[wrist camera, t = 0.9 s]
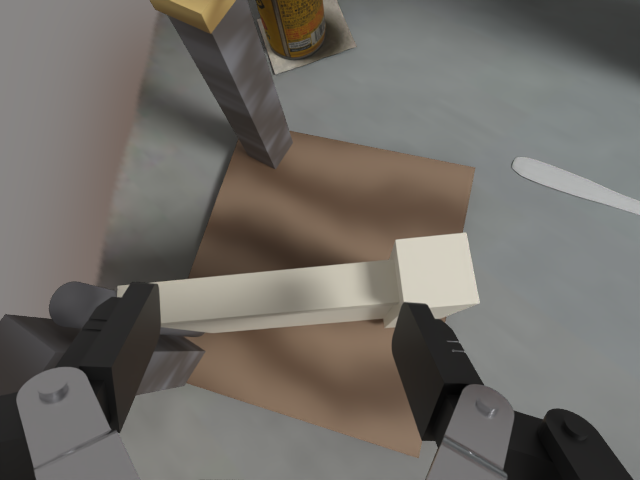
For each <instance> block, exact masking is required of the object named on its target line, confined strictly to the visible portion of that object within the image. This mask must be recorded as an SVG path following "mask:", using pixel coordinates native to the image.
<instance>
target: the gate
mask: <svg viewBox="0 0 640 480" xmlns="http://www.w3.org/2000/svg"><path fill="white" fill-rule="evenodd" d="M152 283H155V284H158V286H159V294H160V314H161V329H160V335H173V336H186V337H200V336H202V335H203V334H205V333H206V332H207V333H221V332H233V331H244V330H256V329H268V328H279V327H291V326H303V325H314V324H326V323H338V322H349V321H361V320H373V319H383V320H384V328H393V327H395V326H396V323H397V319H398V316H399V312H400V309H401V306H402V304H403V303H404V302H412V303H426V304H427V305H428V306H429V308H430V310H431V312H432V314H433V316H434V318H435V319H441V318H443V317H446V316H449V315H451V314H454V313H456V312H459V311H461V310H464V309H466V308H469V307H471V306H474V305H476V304H479V303H480V302H479V297H478V291H477V286H476V281H475V276H474V270H473V265H472V260H471V254H470V249H469V244H468V239H467V233H457V234H447V235H437V236H427V237H417V238H407V239H397V240H395V243H394V246H393V249H392V252H391V255H390V258H389V260H380V261H370V262H360V263H349V264H339V265H329V266H318V267H308V268H297V269H287V270H277V271H266V272H256V273H246V274H235V275H225V276H215V277H204V278H194V279H183V280H173V281H163V282H152ZM128 286H129V285H121V286H118V289H117V291H114V290H110V289H106V288H102V287H97V286H93V285H89V284H85V283H81V282H69V283H66V284H64V285H62V286H61V287H59V288H58V289H57V290H56V292H55V293H54V294H53V296H52V298H51V301H50V305H49V312H50V316H51V318H52V320H53V321H54V322H55V323H56V324H57V325H59V326H62V327H72V328H83V326H84V325H85V323H86V322H87V321H88V320H89V317H90V316H91V315H92V313H93V312H94V310H95V309H96V307H97V306H99V305H100V304H102V303H103V302H105V301H106V300H107V299H109V298H110V297H122V296H123V294H124V293H125V291H126V290H127V288H128Z"/></svg>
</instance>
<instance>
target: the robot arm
mask: <svg viewBox="0 0 640 480" xmlns="http://www.w3.org/2000/svg"><path fill="white" fill-rule="evenodd" d="M160 329H161V314H160V294H159V286H158V284H155V283H141V282H132V283H130V285H129V286H128V288H127V290H126V291H125V293H124V294H123V296H122V297H110V298H109V299H107V300H106V301H105V302H103V303H102V304H100V305H99V306H97V307H96V309H95V310H94V312H93V313H92V315H91V316H90V317H89V320H88V321H87V322H86V323H85V325H84V326H83V328H82V331H80V332H79V333H78V335H77V336H76V338H75V339H74V340H73V342H72V343H71V345H70V346H69V348H68V349H67V351H66V352H65V353H64V355H63V356H62V358H61V359H60V361H59V362H58V363H57V365H56V366H55V368H53V369H50V370H46V371H44V372H42V373H39V374H38V375H36V376H34V377H33V378H31V379H30V380H28V381H27V382H26V383H25V384H24V385H23V386H22V387H21V389H20V390H19V391H18V392H15V393H11V394H6V395H1V396H0V480H140V478H139V476H138V474H137V471H136V469H135V467H134V465H133V463H132V461H131V459H130V456H129V454H128V452H127V450H126V448H125V446H124V444H123V442H122V439H121V437H120V435H119V433H120V432H121V429H122V427H123V424H124V422H125V420H126V417H127V415H128V412H129V410H130V408H131V405H132V403H133V400H134V398H135V395H136V393H137V391H138V388H139V386H140V383H141V381H142V379H143V376H144V374H145V371H146V369H147V367H148V364H149V362H150V359H151V357H152V355H153V352H154V350H155V347H156V345H157V342H158V339H159V335H160ZM392 355H393V358H394V361H395V364H396V367H397V370H398V373H399V375H400V378H401V381H402V384H403V387H404V390H405V393H406V396H407V399H408V402H409V405H410V408H411V411H412V414H413V417H414V420H415V423H416V426H417V429H418V431H419V434H420V437H421V440H422V441H436V444H437V447H438V449H437V452H436V454H435V457H434V459H433V461H432V464H431V466H430V469H429V471H428V474H427V476H426V479H425V480H633V479H632V477H631V476H630V475H629V473H628V472H627V471H626V469H625V468H624V466H623V465H622V464H621V462H620V461H619V460H618V458H617V457H616V456H615V454H614V453H613V451H612V450H611V449H610V447H609V446H608V445H607V443H606V442H605V441H604V439H603V438H602V436H601V435H600V434H599V432H598V431H597V430H596V429H595V428H594V427H593V426H592V425H591V424H590V423H589V422H588V421H586V420H585V419H584V418H582V417H580V416H579V415H577V414H575V413H573V412H570V411H568V410H564V409H551V410H549V411H548V412H547V413H546V415H545V417H544V419H539V418H536V417H533V416H530V415H526V414H523V413H520V412H517V411H514V410H513V408H512V406H511V404H510V403H509V402H508V400H507V399H506V398H505V397H504V396H502V395H501V394H500V393H499V392H497V391H495V390H494V389H492V388H490V387H487V386H484V384H483V382H482V381H481V379H480V377H479V375H478V374H477V372H476V370H475V369H474V367H473V365H472V363H471V362H470V360H469V358H468V356H467V355H466V353H464V349H463V348H462V346H461V344H460V343H459V341H458V339H457V337H456V335H455V334H454V332H453V330H452V329H451V328H450V327H449V326H448V325H447V324H446V323H444V322H443V321H442V320H441V319H435V318H434V316H433V314H432V312H431V310H430V308H429V306H428V305H427V304H426V303H412V302H404V303H403V304H402V306H401V309H400V312H399V316H398V319H397V323H396V326H395V329H394V333H393V337H392Z"/></svg>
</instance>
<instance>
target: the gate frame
mask: <svg viewBox="0 0 640 480" xmlns="http://www.w3.org/2000/svg"><path fill="white" fill-rule="evenodd" d="M150 2H151V3H152V5H153V7H154V8H155V10H158V11H160V12H162V13H164V14H167V15H168V17H169V18H170V20H171V22H172V24H173V25H174V27H175V29H176V31H177V32H178V34H179V36H180V38H181V39H182V41H183V43H184V45H185V46H186V48H187V50H188V52H189V53H190V55H191V57H192V59H193V60H194V62H195V64H196V66H197V67H198V69H199V71H200V73H201V74H202V76H203V78H204V79H205V81H206V83H207V85H208V86H209V88H210V90H211V92H212V93H213V95H214V97H215V99H216V100H217V102H218V104H219V106H220V107H221V109H222V111H223V113H224V114H225V116H226V118H227V120H228V121H229V123H230V125H231V127H232V128H233V130H234V132H235V134H236V135H237V137H238V141H237V144H236V147H235V150H234V152H233V155H232V158H231V161H230V163H229V166H228V169H227V172H226V174H225V177H224V180H223V183H222V185H221V188H220V191H219V194H218V196H217V199H216V202H215V205H214V208H213V210H212V213H211V216H210V219H209V221H208V224H207V227H206V230H205V232H204V235H203V238H202V241H201V243H200V246H199V249H198V252H197V254H196V257H195V260H194V263H193V265H192V268H191V271H190V274H189V277H188V279H194V278H204V277H215V276H225V275H235V274H246V273H256V272H266V271H277V270H287V269H297V268H308V267H318V266H329V265H339V264H349V263H360V262H370V261H380V260H389V258H390V255H391V252H392V249H393V246H394V243H395V240H397V239H407V238H417V237H427V236H437V235H447V234H457V233H463V228H464V223H465V218H466V213H467V208H468V203H469V197H470V192H471V187H472V182H473V177H474V172H475V168H474V167H469V166H464V165H459V164H454V163H449V162H444V161H439V160H434V159H429V158H424V157H419V156H414V155H409V154H404V153H399V152H394V151H389V150H384V149H378V148H373V147H368V146H363V145H358V144H353V143H348V142H343V141H338V140H333V139H328V138H323V137H318V136H313V135H308V134H303V133H298V132H293V131H289V128H288V125H287V122H286V119H285V116H284V113H283V110H282V107H281V104H280V100H279V97H278V94H277V91H276V88H275V85H274V82H273V79H272V76H271V72H270V69H269V66H268V63H267V60H266V57H265V54H264V51H263V48H262V44H261V41H260V38H259V35H258V32H257V29H256V26H255V23H254V20H253V16H252V13H251V10H250V7H249V4H248V1H247V0H150ZM441 320H442V321H443V322H444V323H445V321H446V317H443V318H441ZM394 329H395V327H393V328H384V320H383V319H373V320H361V321H349V322H338V323H326V324H314V325H303V326H291V327H279V328H268V329H256V330H244V331H233V332H221V333H207V332H206V333H205V334H203V335H202V336H200V337H186V336H173V335H159V339H158V342H157V345H156V347H155V350H154V352H153V355H152V357H151V359H150V362H149V364H148V367H147V369H146V371H145V374H144V376H143V379H142V381H141V383H140V386H139V388H138V391H137V393H136V395H140V394H145V393H150V392H155V391H160V390H165V389H170V388H175V387H180V386H184V385H185V384H186V383H188V384H191V385H194V386H197V387H200V388H203V389H206V390H210V391H213V392H216V393H219V394H222V395H225V396H228V397H231V398H234V399H237V400H240V401H244V402H247V403H250V404H253V405H256V406H259V407H262V408H265V409H268V410H271V411H274V412H278V413H281V414H284V415H287V416H290V417H293V418H296V419H299V420H302V421H305V422H308V423H311V424H315V425H318V426H321V427H324V428H327V429H330V430H333V431H336V432H339V433H342V434H345V435H349V436H352V437H355V438H358V439H361V440H364V441H367V442H370V443H373V444H376V445H379V446H382V447H386V448H389V449H392V450H395V451H398V452H401V453H404V454H407V455H410V456H413V457H416V458H419V454H420V449H421V444H422V440H421V437H420V434H419V431H418V429H417V426H416V423H415V420H414V417H413V414H412V411H411V408H410V405H409V402H408V399H407V396H406V393H405V390H404V387H403V384H402V381H401V378H400V375H399V373H398V370H397V367H396V364H395V361H394V358H393V355H392V337H393V333H394ZM80 331H82V328H72V327H62V326H59V325H57V324H56V323H55V322H54V321H53V320H52V319H46V318H36V317H27V316H17V315H7V314H6V315H4V317H3V318H2V319H1V321H0V396H1V395H6V394H11V393H15V392H18V391H19V390H20V389H21V387H22V386H23V385H24V384H25V383H26V382H27V381H28V380H30V379H31V378H33V377H34V376H36V375H38V374H39V373H42V372H44V371H46V370H50V369H53V368H55V366H56V365H57V363H58V362H59V361H60V359H61V358H62V356H63V355H64V353H65V352H66V351H67V349H68V348H69V346H70V345H71V343H72V342H73V340H74V339H75V338H76V336H77V335H78V333H79V332H80Z"/></svg>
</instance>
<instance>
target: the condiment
mask: <svg viewBox="0 0 640 480" xmlns="http://www.w3.org/2000/svg"><path fill="white" fill-rule="evenodd" d="M256 3H257V7H258V11H259V13H260V17H261V19H257V22H258V25H259V28H260V31H261V34H262V37H263V40H264V43H265V46H266V49H267V52H268V55H269V57H270V61H271V63H272V66H273V69H274V72H275V74H278V73H281V72H285V71H288V70H291V69H294V68H296V67H301V66H304V65H306V64H308V63H312V62H314V61H317V60H320V59H321V58H324V57H328V56H331V55H335V54H338V53H340V52H343V51H345V50H347V49H351V48H354V47H357V46H356V44H355V41H354V40H353V37H352V35H351V33H350V30H349V28H348V26H347V24H346V21H345V19H344V17H343V14H342V11H341V9H340V7H339V5H338V2H337V0H256Z"/></svg>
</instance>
